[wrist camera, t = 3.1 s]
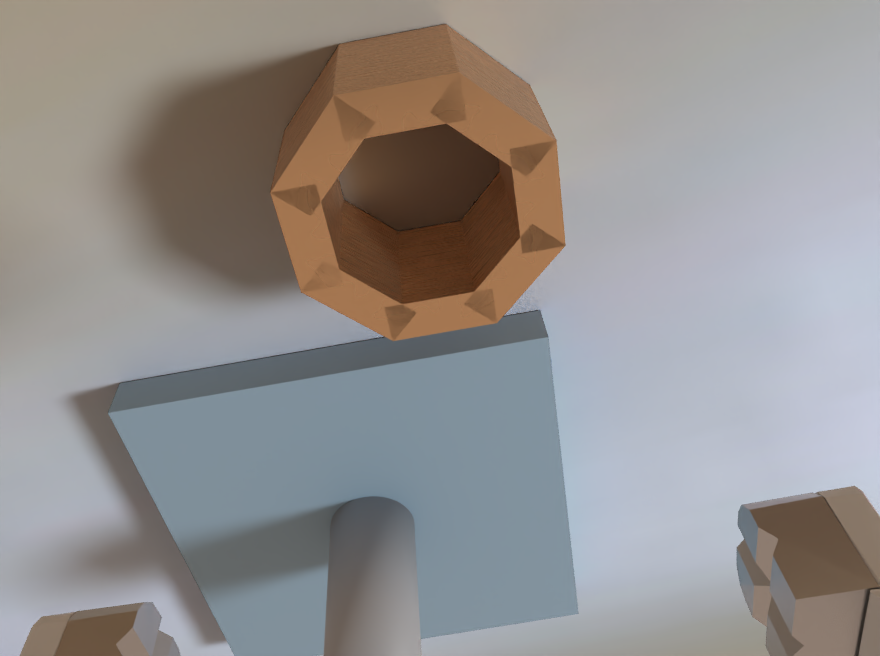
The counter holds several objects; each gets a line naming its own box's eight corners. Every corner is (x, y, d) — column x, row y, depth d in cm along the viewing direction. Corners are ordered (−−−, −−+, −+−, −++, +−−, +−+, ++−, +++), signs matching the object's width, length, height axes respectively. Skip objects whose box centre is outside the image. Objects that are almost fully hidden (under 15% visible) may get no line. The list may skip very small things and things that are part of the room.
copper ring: (264, 57, 22) (244, 111, 18) (522, 9, 21) (549, 55, 18) (326, 277, 26) (320, 354, 22) (545, 238, 25) (571, 310, 22)
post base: (119, 383, 27) (11, 653, 19) (539, 310, 27) (614, 555, 19) (245, 635, 35) (206, 903, 27) (571, 583, 35) (632, 839, 27)
